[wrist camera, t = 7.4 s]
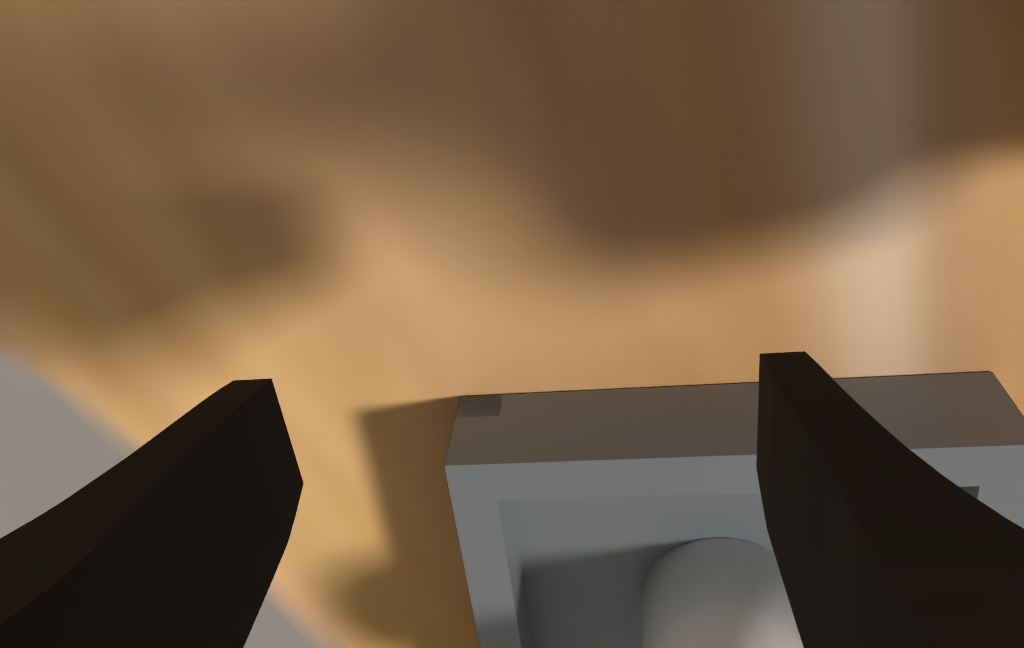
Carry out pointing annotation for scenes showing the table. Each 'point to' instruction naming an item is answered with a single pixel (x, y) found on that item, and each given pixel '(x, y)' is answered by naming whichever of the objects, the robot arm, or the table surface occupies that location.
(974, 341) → the table surface
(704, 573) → the cylinder
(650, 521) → the tray
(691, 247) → the table surface
